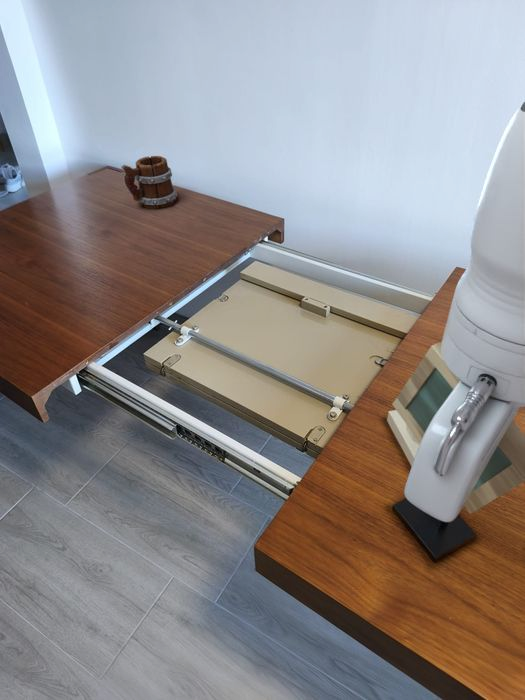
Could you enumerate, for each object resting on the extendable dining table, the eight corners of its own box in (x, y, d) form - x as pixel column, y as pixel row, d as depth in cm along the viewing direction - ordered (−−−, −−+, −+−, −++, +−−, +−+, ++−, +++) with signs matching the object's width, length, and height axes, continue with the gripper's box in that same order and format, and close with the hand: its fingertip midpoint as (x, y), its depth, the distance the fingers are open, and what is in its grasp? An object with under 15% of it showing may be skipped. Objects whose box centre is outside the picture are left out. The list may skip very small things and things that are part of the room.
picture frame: (404, 398, 56) (445, 339, 46) (482, 507, 49) (550, 465, 39) (391, 404, 55) (431, 345, 45) (469, 514, 49) (535, 473, 39)
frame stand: (429, 489, 65) (470, 374, 50) (473, 538, 59) (533, 425, 45) (391, 509, 63) (422, 395, 48) (433, 562, 57) (483, 451, 43)
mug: (188, 198, 140) (173, 149, 129) (151, 222, 135) (132, 173, 124) (165, 188, 147) (149, 140, 136) (128, 210, 141) (109, 163, 130)
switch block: (479, 459, 68) (487, 442, 65) (414, 473, 67) (420, 456, 64) (445, 409, 76) (451, 391, 73) (386, 420, 74) (390, 403, 72)
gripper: (507, 463, 25) (450, 581, 34) (600, 290, 36) (539, 412, 45) (397, 408, 28) (372, 529, 37) (514, 265, 39) (473, 383, 48)
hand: (464, 463), depth 41 cm, fingers open, 4 cm apart
